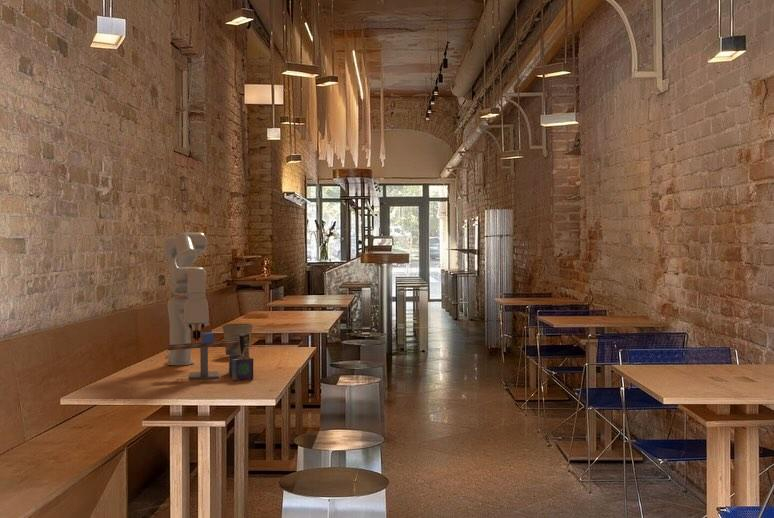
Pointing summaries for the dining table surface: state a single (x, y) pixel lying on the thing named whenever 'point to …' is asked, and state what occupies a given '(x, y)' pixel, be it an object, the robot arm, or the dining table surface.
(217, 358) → the dining table surface
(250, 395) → the dining table surface
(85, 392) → the dining table surface
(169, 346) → the beam
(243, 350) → the coffee box
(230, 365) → the stand
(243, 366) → the flask
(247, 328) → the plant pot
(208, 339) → the blue block
